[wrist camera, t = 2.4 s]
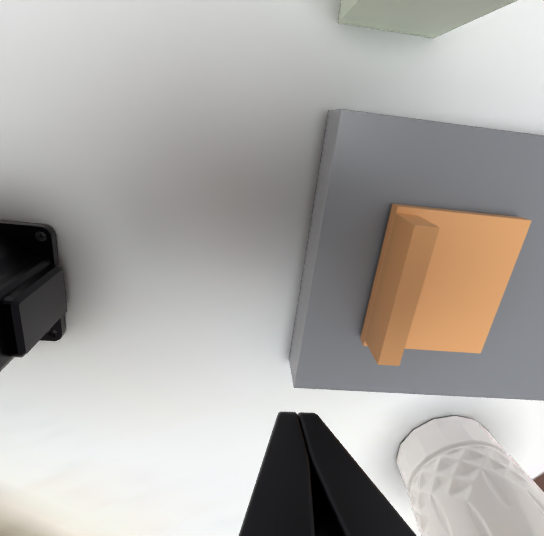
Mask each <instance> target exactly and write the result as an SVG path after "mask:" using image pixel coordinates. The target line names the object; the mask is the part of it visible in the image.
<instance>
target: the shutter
mask: <svg viewBox="0 0 544 536" xmlns="http://www.w3.org/2000/svg"><path fill="white" fill-rule="evenodd" d="M531 221H532V220H529V219H526V218H523V217H515V216H506V215H496V214H487V213H477V212H468V211H459V210H449V209H440V208H430V207H421V206H412V205H402V204H393V203H392V208H391V212H390V216H389V220H388V224H387V229H386V233H385V237H384V241H383V245H382V250H381V254H380V258H379V262H378V266H377V271H376V275H375V279H374V283H373V287H372V292H371V296H370V300H369V304H368V308H367V313H366V317H365V321H364V325H363V329H362V334H361V338H360V340H361V342H362V344H363V346H368V347H369V349H370V351H371V353H372V355H373V357H374V359H375V361H376V362H377V364H378V365H392V366H399V365H400V362H401V358H402V355H403V352H404V349H419V350H434V351H450V352H465V353H481V351H482V349H483V346H484V343H485V341H486V338H487V336H488V333H489V330H490V328H491V325H492V323H493V320H494V317H495V315H496V312H497V310H498V307H499V305H500V302H501V299H502V297H503V294H504V292H505V289H506V286H507V284H508V281H509V279H510V276H511V273H512V271H513V268H514V266H515V263H516V260H517V258H518V255H519V253H520V250H521V247H522V245H523V242H524V240H525V237H526V234H527V232H528V229H529V227H530V224H531Z"/></svg>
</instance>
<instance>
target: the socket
mask: <svg viewBox="0 0 544 536" xmlns="http://www.w3.org/2000/svg"><path fill="white" fill-rule="evenodd" d="M392 203H393V204H402V205H412V206H421V207H430V208H440V209H449V210H459V211H468V212H477V213H487V214H496V215H506V216H515V217H523V218H526V219H529V220H532V221H531V224H530V227H529V229H528V232H527V234H526V237H525V240H524V242H523V245H522V247H521V250H520V253H519V255H518V258H517V260H516V263H515V266H514V268H513V271H512V273H511V276H510V279H509V281H508V284H507V286H506V289H505V292H504V294H503V297H502V299H501V302H500V305H499V307H498V310H497V312H496V315H495V317H494V320H493V323H492V325H491V328H490V330H489V333H488V336H487V338H486V341H485V343H484V346H483V349H482V351H481V353H465V352H450V351H434V350H419V349H404V352H403V355H402V358H401V362H400V365H399V366H392V365H378V364H377V362H376V361H375V359H374V357H373V355H372V353H371V351H370V349H369V347H368V346H363V344H362V342H361V340H360V338H361V334H362V329H363V325H364V321H365V317H366V313H367V308H368V304H369V300H370V296H371V292H372V287H373V283H374V279H375V275H376V271H377V266H378V262H379V258H380V254H381V250H382V245H383V241H384V237H385V233H386V229H387V224H388V220H389V216H390V212H391V208H392ZM289 362H290V368H291V374H292V379H293V385H294V388H310V389H329V390H349V391H368V392H388V393H407V394H427V395H446V396H466V397H485V398H505V399H525V400H544V136H542V135H534V134H527V133H519V132H511V131H504V130H496V129H489V128H481V127H474V126H466V125H458V124H451V123H443V122H436V121H428V120H420V119H413V118H405V117H398V116H390V115H383V114H375V113H367V112H360V111H352V110H345V109H338V110H331V111H329V112H328V118H327V124H326V131H325V137H324V143H323V150H322V156H321V162H320V168H319V175H318V181H317V187H316V194H315V200H314V206H313V212H312V219H311V225H310V231H309V238H308V244H307V250H306V256H305V263H304V269H303V275H302V282H301V288H300V294H299V300H298V307H297V313H296V319H295V326H294V332H293V338H292V344H291V351H290V357H289Z"/></svg>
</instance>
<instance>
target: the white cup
mask: <svg viewBox="0 0 544 536" xmlns="http://www.w3.org/2000/svg"><path fill="white" fill-rule="evenodd" d="M396 462H397V465H398V468H399V470H400V473H401V476H402V478H403V481H404V483H405V486H406V488H407V492H408V495H409V498H410V505H411V508H412V511H413V513H414V515H415V519H416V522H417V525H418V529H419V531H420V534H421V536H544V492H543V491H542V490H541V489H540V488H539V487H538V486H537V484H536V483H535V482H534V481H533V480H532V479H531V478H530V477H529V476H528V475H527V474H526V473H525V472H524V470H523V469H522V468H521V467H520V466H519V464H518V463H517V462H516V461H515V460H514V459H513V458H512V457H511V456H510V455H508V454H507V453H506V452H505V451H504V450H503V448H502V447H501V446H500V445H499V444H498V442H497V441H496V440H495V439H494V438H493V436H492V435H491V434H490V433H489V432H488V431H487V430H486V429H485V428H484V427H483V426H481V425H480V424H479V423H478V422H477V421H475V420H473V419H469V418H464V417H459V416H450V417H444V418H438V419H433V420H431V421H429V422H427V423H425V424H423V425H422V426H420V427H418V428H416V429H414V430H413V431H412V432H411V433H410V434H409V436H408V437H407V438H406V439H405V440H404V441H403V442H402V444H401V445H400V449H399V452H398V456H397V460H396Z"/></svg>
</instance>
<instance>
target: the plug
mask: <svg viewBox="0 0 544 536" xmlns="http://www.w3.org/2000/svg"><path fill="white" fill-rule="evenodd" d="M515 1H517V0H341V6H340V12H339V19H338V23H341V24H347V25H354V26H360V27H367V28H373V29H379V30H386V31H392V32H399V33H405V34H411V35H418V36H424V37H431V38H435V37H437V36H439V35H442V34H444V33H446V32H448V31H450V30H453V29H455V28H457V27H459V26H462V25H464V24H466V23H468V22H471V21H473V20H475V19H477V18H479V17H482V16H484V15H486V14H488V13H491V12H493V11H495V10H497V9H499V8H502V7H504V6H506V5H508V4H511V3H513V2H515Z"/></svg>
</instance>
